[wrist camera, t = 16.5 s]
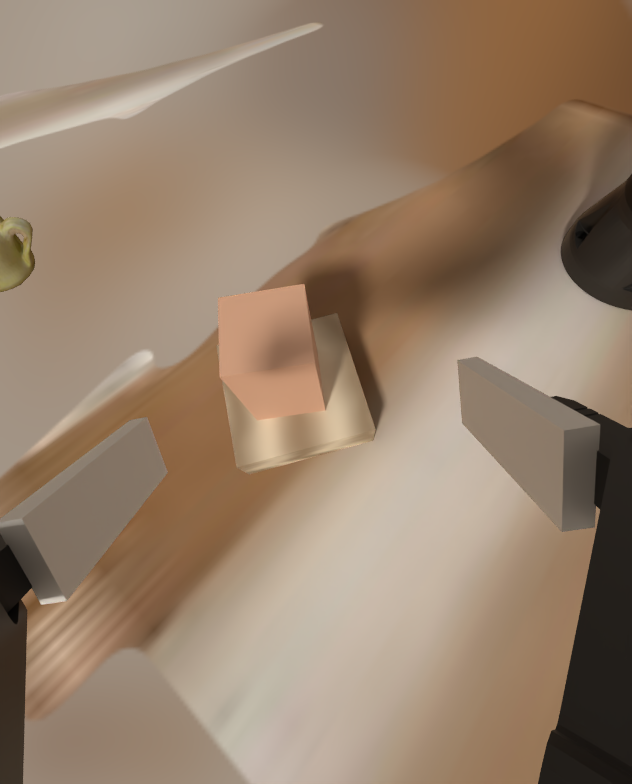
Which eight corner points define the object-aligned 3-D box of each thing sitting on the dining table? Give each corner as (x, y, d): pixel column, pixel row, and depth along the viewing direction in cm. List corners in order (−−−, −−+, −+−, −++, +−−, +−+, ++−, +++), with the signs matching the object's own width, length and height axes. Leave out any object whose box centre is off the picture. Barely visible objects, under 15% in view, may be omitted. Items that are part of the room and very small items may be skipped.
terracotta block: (317, 349, 38) (304, 283, 28) (325, 410, 36) (314, 362, 26) (253, 359, 39) (218, 297, 28) (257, 420, 36) (219, 376, 26)
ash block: (338, 335, 44) (337, 312, 40) (372, 441, 39) (375, 429, 35) (230, 364, 44) (216, 345, 40) (250, 474, 39) (236, 467, 34)
